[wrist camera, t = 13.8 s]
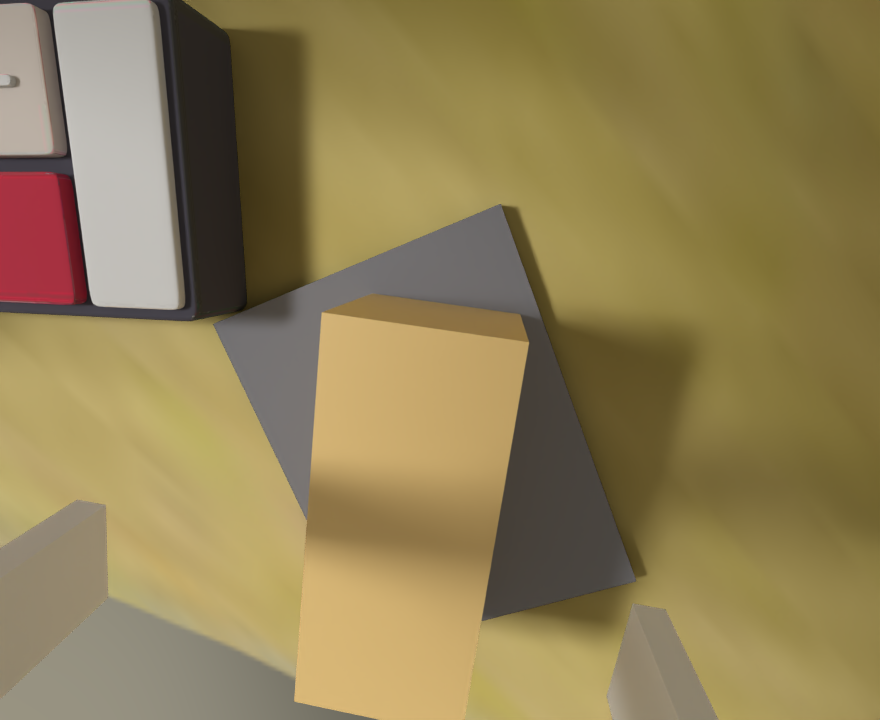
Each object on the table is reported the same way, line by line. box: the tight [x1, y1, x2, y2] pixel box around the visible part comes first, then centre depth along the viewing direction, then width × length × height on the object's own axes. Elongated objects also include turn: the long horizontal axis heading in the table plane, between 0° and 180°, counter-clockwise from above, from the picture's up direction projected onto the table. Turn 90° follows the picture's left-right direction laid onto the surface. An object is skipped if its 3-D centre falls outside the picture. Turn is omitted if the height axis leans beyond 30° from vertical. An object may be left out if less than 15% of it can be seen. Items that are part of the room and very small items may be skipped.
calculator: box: [0, 0, 247, 321], centre depth 20 cm, size 11×4×15 cm
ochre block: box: [294, 293, 529, 720], centre depth 19 cm, size 6×6×14 cm
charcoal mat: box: [213, 204, 636, 621], centre depth 22 cm, size 17×13×1 cm
